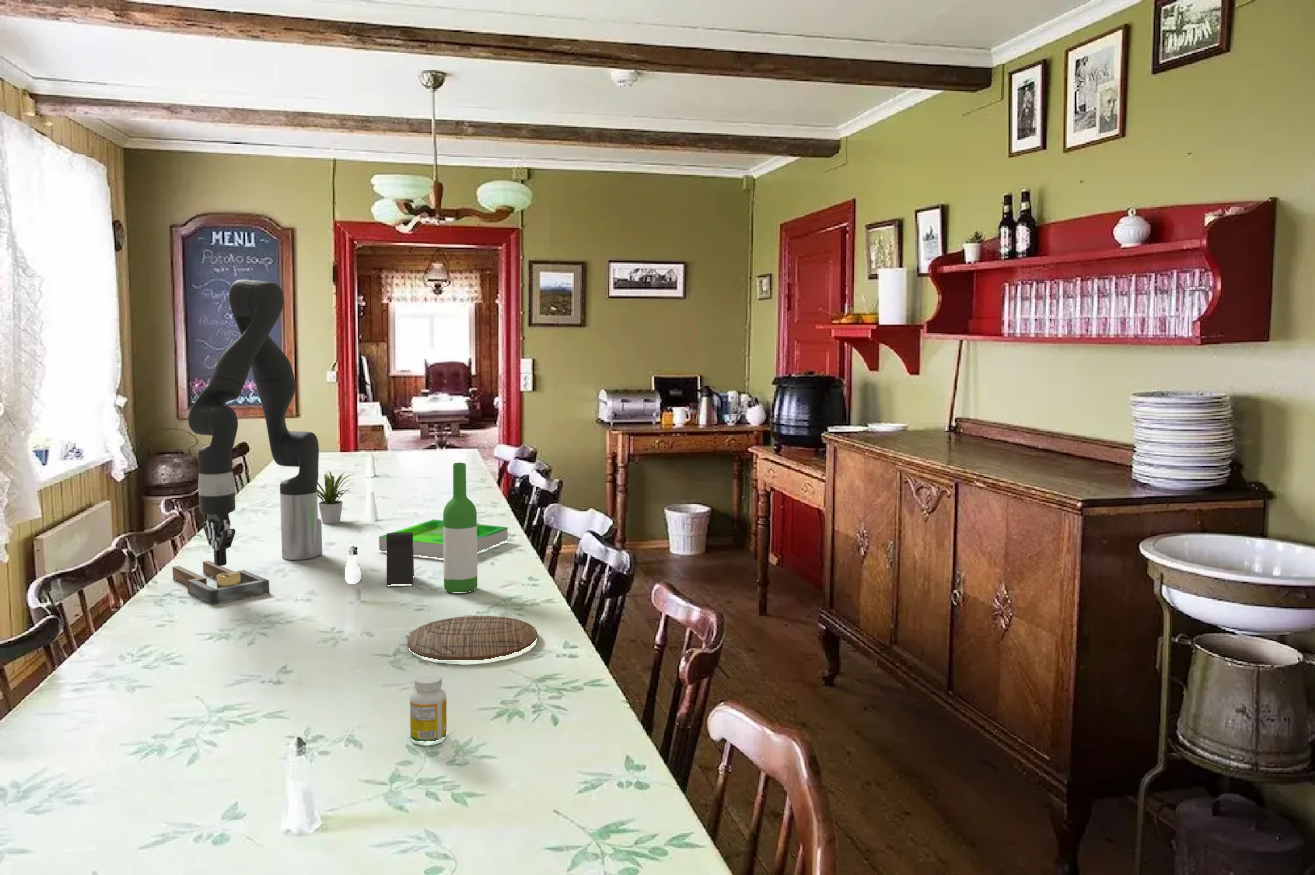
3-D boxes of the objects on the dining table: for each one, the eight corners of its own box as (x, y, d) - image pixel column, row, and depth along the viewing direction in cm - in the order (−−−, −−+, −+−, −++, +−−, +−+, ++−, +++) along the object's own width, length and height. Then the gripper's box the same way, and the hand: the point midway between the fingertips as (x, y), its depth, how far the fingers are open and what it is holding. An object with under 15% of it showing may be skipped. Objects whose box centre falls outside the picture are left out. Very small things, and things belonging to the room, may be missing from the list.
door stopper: (412, 586, 227) (411, 537, 225) (386, 587, 225) (385, 537, 224) (414, 576, 235) (413, 528, 234) (389, 577, 234) (388, 529, 233)
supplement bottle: (424, 750, 141) (423, 688, 139) (403, 740, 144) (401, 678, 143) (454, 739, 145) (453, 677, 144) (432, 729, 148) (431, 669, 147)
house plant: (368, 521, 298) (367, 469, 296) (332, 529, 287) (330, 475, 285) (338, 516, 306) (336, 465, 304) (301, 523, 294) (299, 470, 292)
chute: (218, 570, 238) (218, 559, 238) (269, 593, 219) (268, 580, 219) (163, 580, 229) (162, 568, 228) (211, 604, 210) (211, 591, 210)
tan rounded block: (236, 589, 222) (235, 570, 222) (244, 594, 219) (244, 575, 218) (213, 593, 219) (213, 574, 218) (222, 598, 215) (221, 579, 215)
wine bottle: (469, 596, 219) (468, 466, 216) (438, 593, 221) (436, 465, 217) (482, 587, 227) (481, 461, 223) (452, 584, 229) (450, 460, 225)
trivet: (540, 663, 178) (540, 654, 178) (401, 670, 174) (401, 660, 174) (535, 622, 202) (535, 613, 202) (413, 626, 198) (413, 618, 198)
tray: (379, 554, 259) (378, 536, 258) (433, 536, 282) (433, 519, 281) (457, 564, 250) (457, 545, 249) (507, 544, 273) (507, 527, 272)
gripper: (245, 493, 217) (249, 567, 220) (221, 485, 226) (224, 556, 229) (211, 498, 212) (215, 574, 214) (188, 489, 221) (192, 562, 223)
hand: (220, 564), depth 221 cm, fingers closed
